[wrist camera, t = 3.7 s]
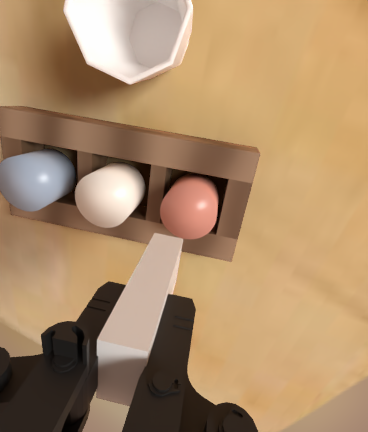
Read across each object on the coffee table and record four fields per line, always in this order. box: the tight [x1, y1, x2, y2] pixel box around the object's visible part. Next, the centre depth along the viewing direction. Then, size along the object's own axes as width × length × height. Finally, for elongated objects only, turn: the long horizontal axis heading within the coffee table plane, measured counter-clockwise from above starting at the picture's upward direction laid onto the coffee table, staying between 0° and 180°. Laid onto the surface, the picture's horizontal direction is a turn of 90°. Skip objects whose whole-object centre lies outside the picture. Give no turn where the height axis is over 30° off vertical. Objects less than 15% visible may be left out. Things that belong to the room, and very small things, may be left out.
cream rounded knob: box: [75, 162, 146, 228], centre depth 22 cm, size 4×4×4 cm
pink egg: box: [160, 173, 219, 239], centre depth 22 cm, size 4×4×4 cm
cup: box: [63, 0, 193, 85], centre depth 17 cm, size 7×10×8 cm
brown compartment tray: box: [0, 106, 260, 262], centre depth 24 cm, size 22×10×3 cm, turn 81°
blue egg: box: [0, 149, 76, 212], centre depth 22 cm, size 4×4×4 cm
